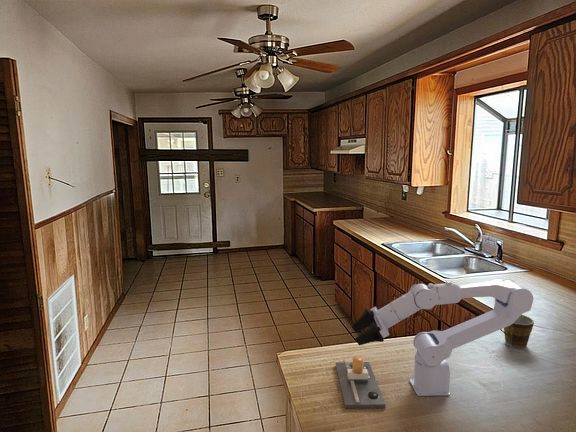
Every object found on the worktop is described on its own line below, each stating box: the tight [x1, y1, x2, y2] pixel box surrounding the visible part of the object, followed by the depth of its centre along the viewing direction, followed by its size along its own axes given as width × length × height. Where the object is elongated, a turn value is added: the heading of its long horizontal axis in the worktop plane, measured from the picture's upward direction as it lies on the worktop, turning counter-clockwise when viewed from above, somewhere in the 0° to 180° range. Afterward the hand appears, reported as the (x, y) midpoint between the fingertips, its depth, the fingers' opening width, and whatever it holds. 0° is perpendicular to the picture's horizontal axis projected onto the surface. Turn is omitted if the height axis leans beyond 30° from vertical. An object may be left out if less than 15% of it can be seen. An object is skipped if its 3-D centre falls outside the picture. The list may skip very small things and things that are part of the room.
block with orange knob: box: [347, 355, 370, 379], centre depth 117 cm, size 7×3×6 cm, turn 90°
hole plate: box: [335, 357, 386, 410], centre depth 117 cm, size 11×22×4 cm, turn 0°
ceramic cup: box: [499, 314, 535, 350], centre depth 139 cm, size 13×10×10 cm
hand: (355, 335), depth 114 cm, fingers open, 7 cm apart
